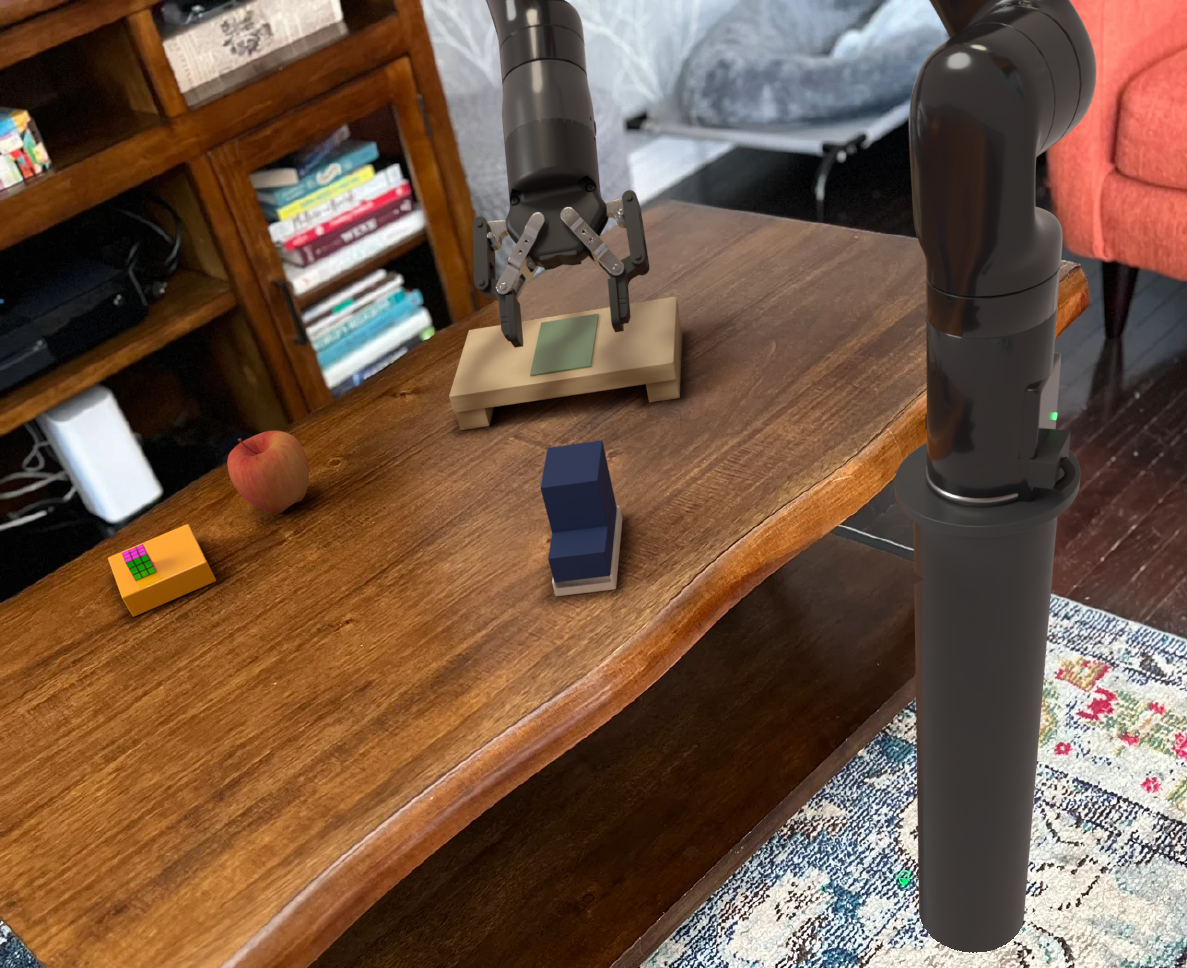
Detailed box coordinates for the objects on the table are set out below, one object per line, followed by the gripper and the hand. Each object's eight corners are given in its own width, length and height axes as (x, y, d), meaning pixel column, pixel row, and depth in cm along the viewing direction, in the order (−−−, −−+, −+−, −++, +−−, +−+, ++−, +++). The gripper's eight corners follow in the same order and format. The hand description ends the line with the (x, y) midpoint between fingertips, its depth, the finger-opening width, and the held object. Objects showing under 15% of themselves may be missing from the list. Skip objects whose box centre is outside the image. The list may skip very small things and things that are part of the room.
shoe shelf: (682, 333, 127) (676, 294, 124) (679, 401, 118) (673, 360, 115) (478, 365, 131) (468, 328, 128) (459, 433, 122) (448, 394, 119)
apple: (336, 494, 118) (306, 419, 113) (278, 534, 115) (245, 460, 109) (291, 477, 122) (260, 404, 117) (234, 515, 119) (199, 442, 114)
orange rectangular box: (118, 576, 115) (96, 539, 112) (198, 542, 117) (179, 504, 114) (133, 617, 110) (110, 579, 107) (216, 581, 111) (197, 542, 108)
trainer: (566, 526, 106) (545, 444, 101) (622, 519, 105) (605, 436, 100) (555, 597, 99) (532, 513, 94) (616, 589, 98) (597, 504, 93)
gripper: (453, 132, 98) (470, 334, 98) (628, 98, 96) (646, 306, 96) (479, 176, 106) (495, 364, 106) (642, 146, 103) (658, 339, 103)
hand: (567, 336), depth 101 cm, fingers open, 8 cm apart
